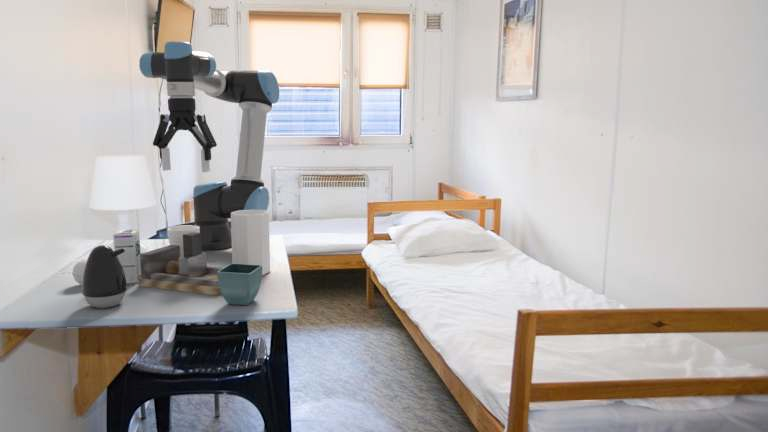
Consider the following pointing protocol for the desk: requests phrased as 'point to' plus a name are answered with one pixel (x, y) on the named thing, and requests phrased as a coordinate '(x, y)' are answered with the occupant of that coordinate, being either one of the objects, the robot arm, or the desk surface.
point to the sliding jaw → (192, 256)
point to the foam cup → (180, 235)
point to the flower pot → (240, 283)
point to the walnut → (172, 267)
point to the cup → (251, 238)
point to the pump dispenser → (104, 278)
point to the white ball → (79, 271)
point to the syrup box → (129, 253)
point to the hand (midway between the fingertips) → (186, 171)
